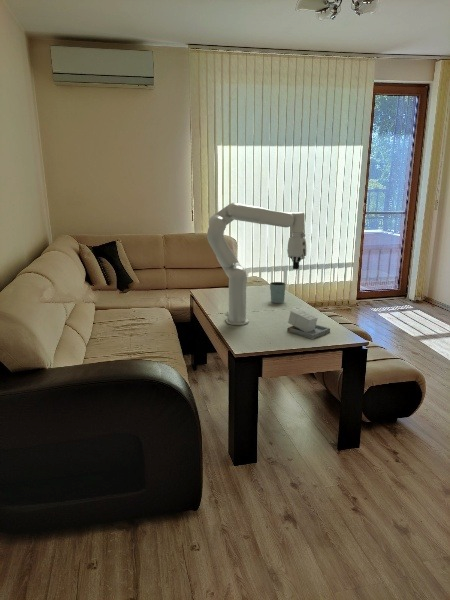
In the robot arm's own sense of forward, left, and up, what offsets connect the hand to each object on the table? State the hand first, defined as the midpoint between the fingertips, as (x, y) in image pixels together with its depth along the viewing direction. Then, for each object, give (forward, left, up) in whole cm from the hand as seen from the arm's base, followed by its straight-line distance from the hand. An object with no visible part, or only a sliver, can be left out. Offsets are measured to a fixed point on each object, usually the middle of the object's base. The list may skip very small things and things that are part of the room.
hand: (295, 268), depth 238 cm
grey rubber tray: (+19, -12, -29) cm, 37 cm away
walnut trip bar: (+12, -12, -29) cm, 33 cm away
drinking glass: (-31, +22, -29) cm, 48 cm away
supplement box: (+8, -12, -22) cm, 27 cm away
